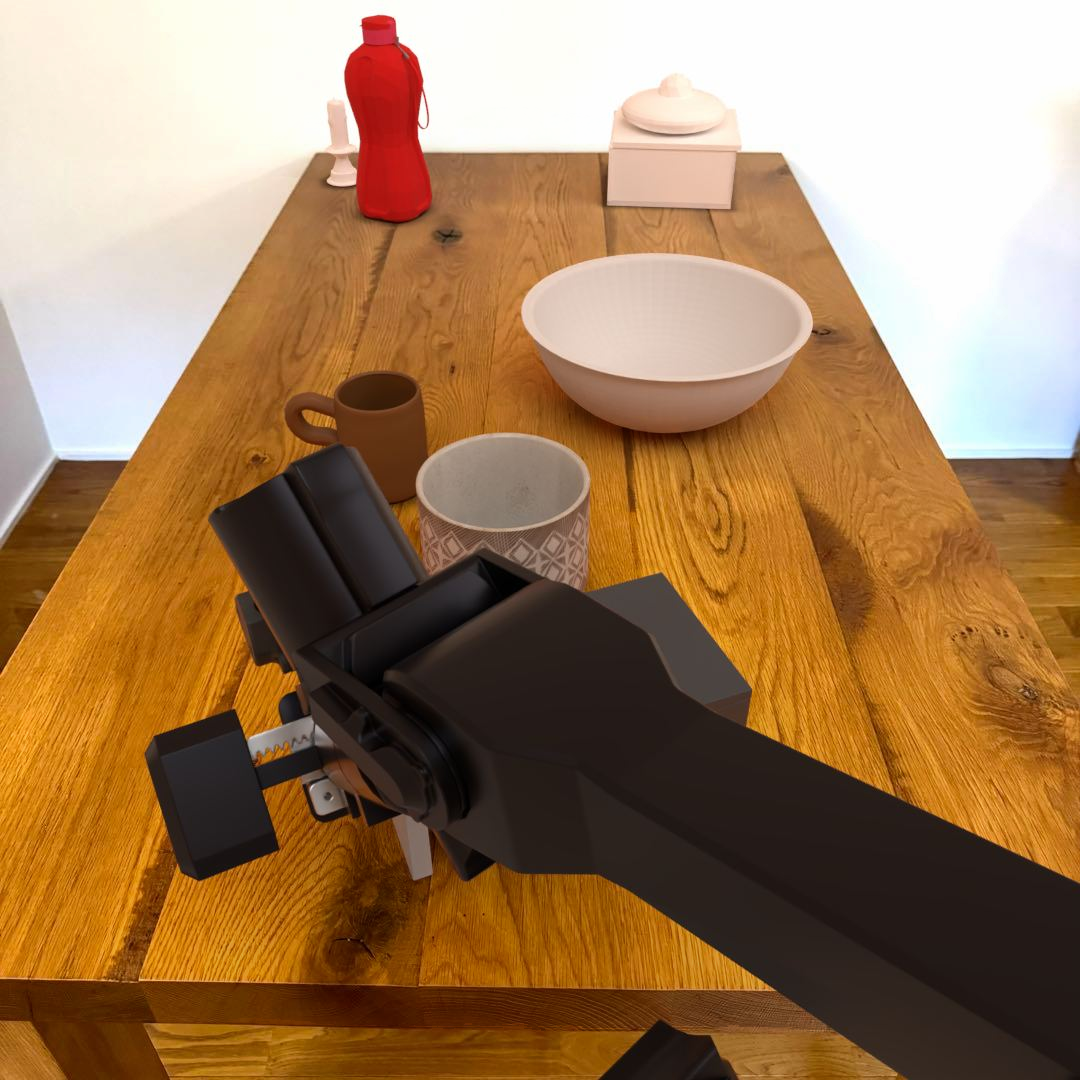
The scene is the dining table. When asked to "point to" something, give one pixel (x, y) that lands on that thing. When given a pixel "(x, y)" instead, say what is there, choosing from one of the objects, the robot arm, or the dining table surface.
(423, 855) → the drawer
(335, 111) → the candle
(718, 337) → the bowl
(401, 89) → the water bottle
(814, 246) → the dining table surface
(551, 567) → the planter
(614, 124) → the pink lidded box
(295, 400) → the mug
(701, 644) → the dark grey cabinet
